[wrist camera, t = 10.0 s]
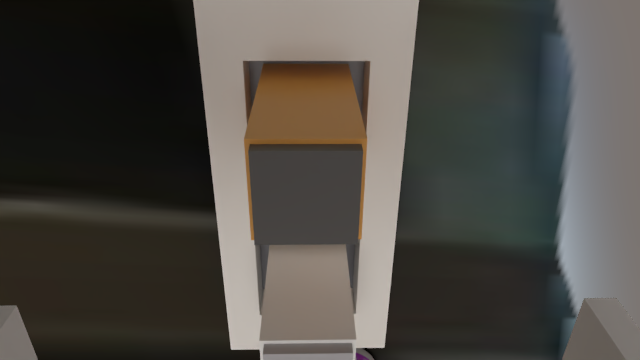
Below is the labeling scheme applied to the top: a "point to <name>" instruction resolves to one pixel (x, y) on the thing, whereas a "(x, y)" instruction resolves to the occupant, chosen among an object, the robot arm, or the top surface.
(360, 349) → the supplement bottle
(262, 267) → the pdu strip
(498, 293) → the top surface
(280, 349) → the twin plug
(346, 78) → the plug
